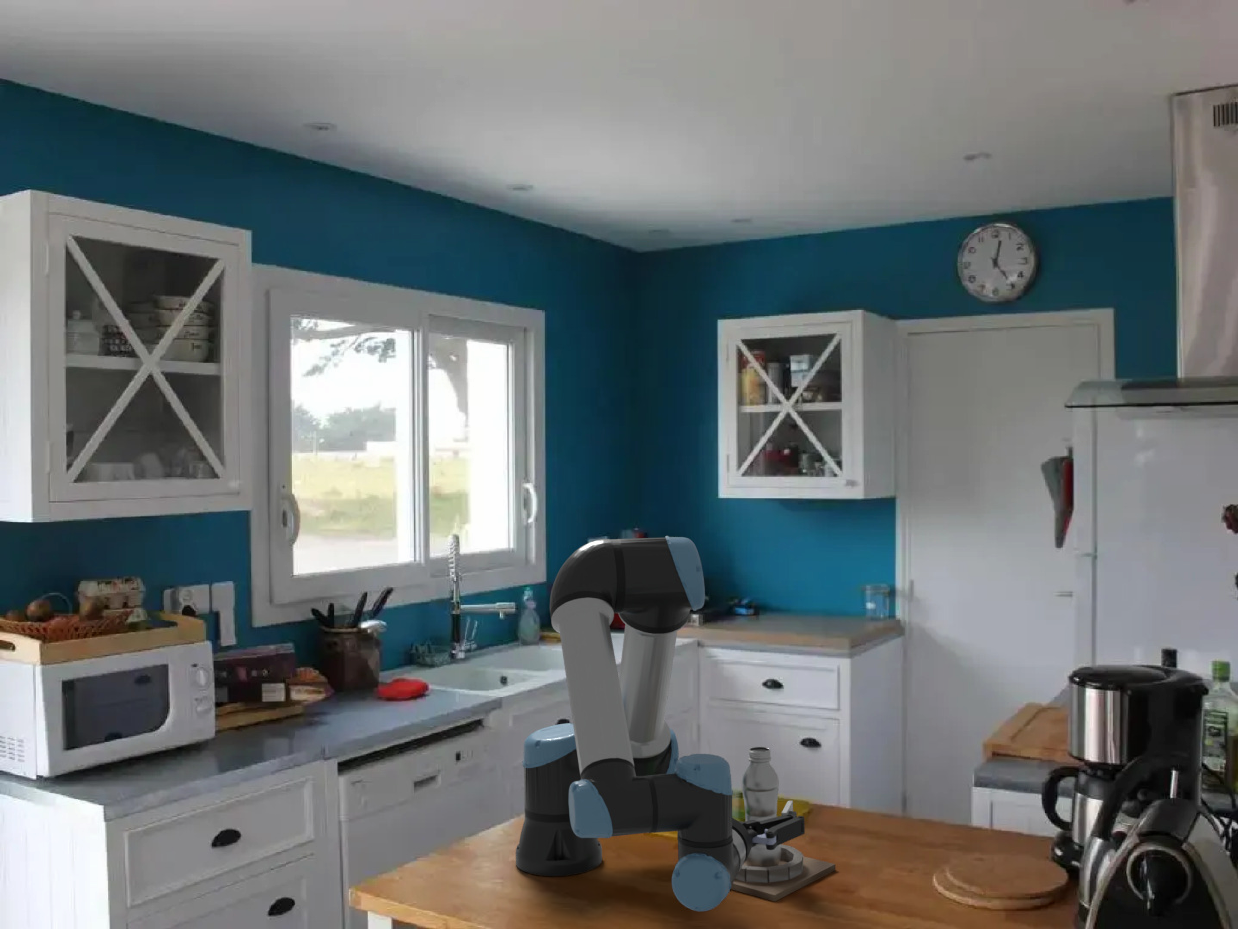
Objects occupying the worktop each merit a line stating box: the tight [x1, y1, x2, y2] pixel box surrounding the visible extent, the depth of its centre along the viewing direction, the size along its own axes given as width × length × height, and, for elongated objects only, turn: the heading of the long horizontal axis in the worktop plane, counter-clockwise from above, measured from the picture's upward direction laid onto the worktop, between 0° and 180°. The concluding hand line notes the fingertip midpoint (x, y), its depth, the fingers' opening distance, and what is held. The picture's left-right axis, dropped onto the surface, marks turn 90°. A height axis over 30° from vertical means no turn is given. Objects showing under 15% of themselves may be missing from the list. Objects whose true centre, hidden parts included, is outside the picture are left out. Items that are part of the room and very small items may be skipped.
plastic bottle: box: [740, 746, 781, 867], centre depth 203 cm, size 6×7×20 cm
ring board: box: [730, 843, 836, 902], centre depth 203 cm, size 18×18×3 cm
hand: (748, 806), depth 194 cm, fingers open, 13 cm apart
